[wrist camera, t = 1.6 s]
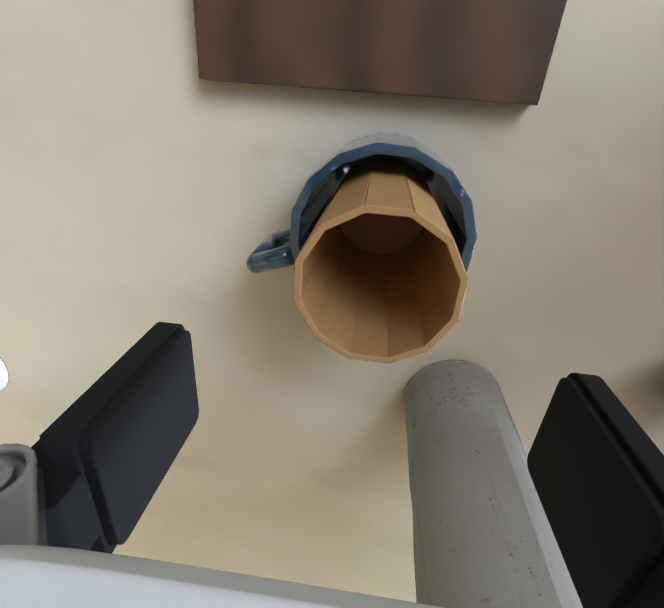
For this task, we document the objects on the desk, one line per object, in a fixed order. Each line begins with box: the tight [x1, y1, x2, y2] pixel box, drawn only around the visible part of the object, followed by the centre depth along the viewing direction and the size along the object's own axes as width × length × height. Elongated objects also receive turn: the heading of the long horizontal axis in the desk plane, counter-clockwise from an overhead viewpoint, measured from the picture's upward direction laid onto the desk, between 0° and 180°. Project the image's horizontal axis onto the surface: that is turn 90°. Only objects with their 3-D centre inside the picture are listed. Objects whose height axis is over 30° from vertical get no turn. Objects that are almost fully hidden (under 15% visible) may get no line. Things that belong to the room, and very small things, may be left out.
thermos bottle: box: [405, 360, 583, 608], centre depth 21 cm, size 8×8×28 cm
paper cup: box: [294, 159, 468, 363], centre depth 21 cm, size 7×7×13 cm
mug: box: [247, 133, 477, 273], centre depth 24 cm, size 13×10×8 cm
